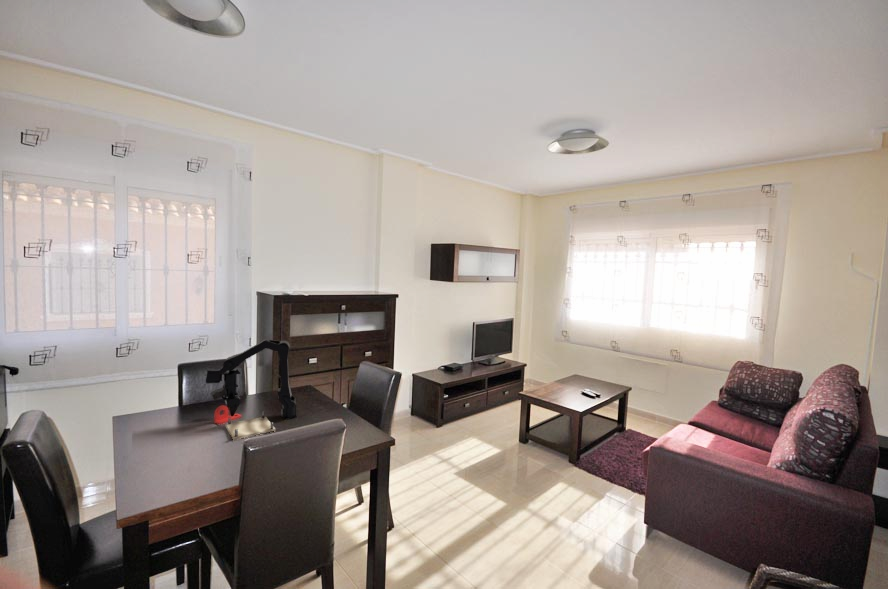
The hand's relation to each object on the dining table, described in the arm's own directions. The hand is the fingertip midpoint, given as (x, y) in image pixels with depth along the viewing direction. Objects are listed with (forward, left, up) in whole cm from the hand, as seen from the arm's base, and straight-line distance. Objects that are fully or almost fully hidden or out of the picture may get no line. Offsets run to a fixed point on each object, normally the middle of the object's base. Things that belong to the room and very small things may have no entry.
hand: (230, 413), depth 197 cm
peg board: (-6, +15, -4) cm, 17 cm away
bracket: (0, -2, -4) cm, 5 cm away
